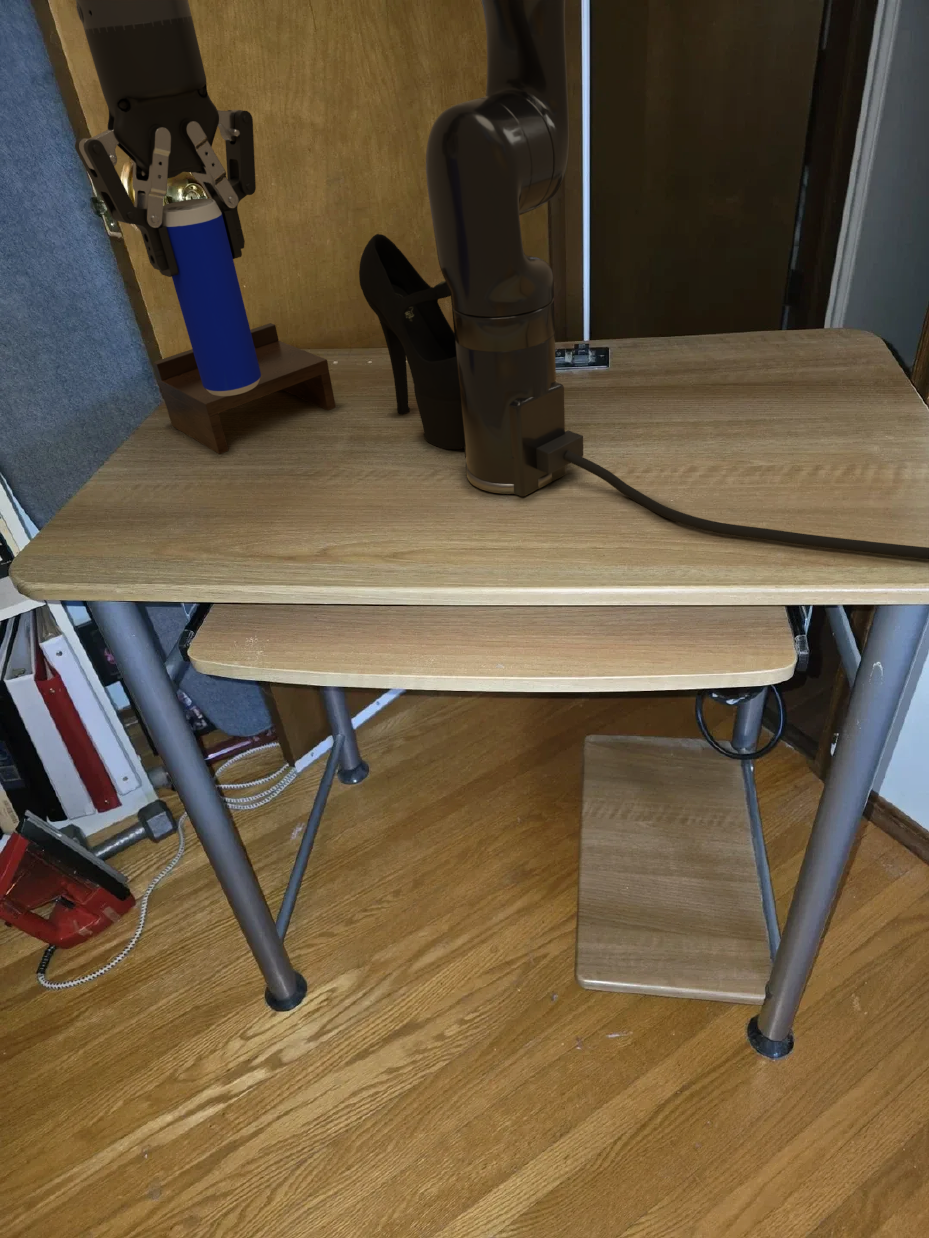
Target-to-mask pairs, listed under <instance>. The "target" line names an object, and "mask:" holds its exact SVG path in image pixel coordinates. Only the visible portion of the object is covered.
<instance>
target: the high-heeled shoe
mask: <svg viewBox="0 0 929 1238" xmlns="http://www.w3.org/2000/svg"><path fill="white" fill-rule="evenodd" d="M359 260H360V261H359V268H358V270H359V271H358V276H359V277H358V279H359V280H358V281H359V286H360V289H361V291H362V294H363V296H364V298H365V301H366V303H367V304H368V306H369V308H370V309H371V310H372V311H373V312H374V313H375V315H376V316H377V318H378V321H379V323H380V327H381V329H382V333H383V336H384V340H385V343H386V346H387V351H388V355H389V359H390V364H391V369H392V376H393V381H394V391H395V400H396V413H397V415H401V416H403V415H405V414H408V413H410V407H409V387H408V371H407V369H408V368H407V364H408V367H409V370H410V374H411V379H412V382H413V383H412V384H413V392H414V399H415V402H416V405H417V409H418V413H419V417H420V421H421V426H422V429H423V437H424V440H426V441H427V442H428V443H429V444H431V445H432V446H435V447H437V448H440V449H445V450H461V449H464V447H465V441H464V431H463V420H462V410H461V399H460V388H459V378H458V367H457V357H456V346H455V335H454V329H453V328H452V327H451V325H450V323H449V322H448V320H447V318H446V316H445V314H444V313H443V311H442V309H441V306H440V303H439V300H442V299H445V298H447V297H448V298H449V297H451V294H450V290H449V287H448V285H447V283H446V281H445V280H443V281H439V282H438V283H437V284H435V285H434V286H431V285H430V284H429V283H427V281H426V280H425V279H424V278H423V277H422V276H421V274H420V273H419V272H418V271H417V270H416V268H415V267H414V266H413V264H412V263H411V262H410V261H409V259H408V258H407V257H406V255H405V253H403V252H402V251H401V249H400V248H399V247H398V246H397V245H396V244H395V242H394V241H392V240H391V239H390V238H388V237H387V236H386V235H384V234H381V233H376V234H374V235H373V236H371V238H370V240H368V241H367V243H366V245H365V247H364V249H363V251H362V254H361V257H360V259H359Z"/></svg>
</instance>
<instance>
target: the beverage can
mask: <svg viewBox="0 0 929 1238" xmlns="http://www.w3.org/2000/svg"><path fill="white" fill-rule="evenodd" d="M161 225H162V226H166V228H167V231H168V235H169V238H170V242H171V245H172V249H173V253H174V256H175V260H176V263H177V267H178V271H179V274H178V275H175V276H172V277H171V280H172V282H173V283H172V284H173V286H174V289H175V293H176V296H177V300H178V304H179V307H180V311H181V314H182V317H183V321H184V324H185V329H186V332H187V335H188V338H189V342H190V346H191V349H193V353H194V356H195V360H196V363H197V367H198V370H199V374H200V377H201V381H202V384H203V387H204V388H205V389H206V390H207V391H208V392H210V393H211V394H213V395H216V396H232V395H237V394H241V393H244V392H247V391H249V390H251V389H253V388H254V387H256V386H257V384H258V382H259V380H260V377H261V372H260V368H259V364H258V360H257V356H256V352H255V347H254V343H253V339H252V335H251V331H250V330H251V327H250V324H249V319H248V314H247V311H246V306H245V303H244V299H243V298H244V297H243V294H242V290H241V286H240V283H239V277H238V274H237V270H236V269H237V268H236V266H235V262H234V259H233V257H232V253H231V249H230V245H229V241H228V237H227V232H226V228H225V224H224V220H223V216H222V213H221V211H220V209H219V207H218V206H217V204H216V202H215V201H214V200H213V199H210V198H206V197H205V198H202V197H201V198H191V199H183V200H179V201H175V202H170V203H167V204H163V217H162V224H161Z"/></svg>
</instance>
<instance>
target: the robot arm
mask: <svg viewBox="0 0 929 1238" xmlns="http://www.w3.org/2000/svg"><path fill="white" fill-rule="evenodd" d="M480 4H481V8H482V13H483V18H484V26H485V27H484V28H485V38H486V41H485V42H486V85H485V86H486V87H485V96H482V97H478V98H474V99H470V100H466V101H463V102H460V103H457V104H454V105H452V106H450V107H448V108H446V109H444V110H443V111H442V112H441V113H440V114H439V115H438V117H437V118H436V119H435V121H434V122H433V124H432V126H431V128H430V131H429V134H428V138H427V143H426V151H425V152H426V153H425V175H426V186H427V187H426V188H427V194H428V201H429V202H428V203H429V208H430V213H431V214H430V215H431V219H432V227H433V234H434V240H435V247H436V254H437V260H438V265H439V268H440V272H441V274H442V276H443V278H444V281H446V283H447V285H448V287H449V290H450V294H451V296H450V300H451V311H452V312H451V313H452V322H453V332H454V335H455V346H456V357H457V367H458V378H459V388H460V399H461V410H462V420H463V431H464V441H465V447H464V448H463V450H464V457H465V458H464V459H466V460H465V461H466V463H465V470H466V477H467V480H468V481H469V483H470V484H471V485H473V486H474V487H476V488H477V489H480V490H483V491H485V492H489V493H493V494H503V495H505V494H507V495H508V494H509V495H510V494H512V495H513V494H514V495H517V496H519V497H526V496H528V495H530V494H531V493H534V492H535V491H537V490H539V489H541V488H543V487H545V486H547V485H549V484H550V483H552V482H554V481H556V480H558V479H560V478H562V477H564V476H565V475H566V474H567V466H568V465H569V464H572V465H575V466H577V467H579V468H580V469H583V470H585V471H587V472H589V473H591V474H593V475H595V476H596V477H598V478H600V479H601V480H603V481H605V482H606V483H607V484H608V485H610V486H612V487H613V488H614V489H616V490H617V491H618V492H619V493H621V494H622V495H624V496H626V497H627V498H629V499H631V500H632V501H633V502H636V503H637V504H639V505H641V506H642V507H644V508H646V509H647V510H650V511H651V512H653V513H655V514H657V515H658V516H661V517H663V518H666V519H667V520H670V521H673V522H675V523H678V524H681V525H685V526H688V527H691V528H694V529H697V530H702V531H704V532H705V531H706V532H710V533H714V534H719V535H720V534H721V535H724V536H725V535H726V536H733V537H740V538H749V539H755V540H756V539H757V540H765V541H771V542H778V543H786V544H793V545H798V546H805V547H806V546H807V547H815V548H824V549H832V550H841V551H847V552H849V551H850V552H856V553H857V552H858V553H867V554H873V555H883V556H892V557H903V558H909V559H919V560H921V559H922V560H929V547H927V546H917V545H916V546H915V545H907V544H898V543H889V542H888V543H887V542H879V541H868V540H861V539H852V538H842V537H834V536H825V535H819V534H818V535H816V534H808V533H801V532H795V531H793V532H792V531H787V530H779V529H771V528H763V527H756V526H749V525H740V524H732V523H726V522H718V521H715V520H709V519H707V518H706V519H705V518H702V517H698V516H695V515H690V514H687V513H685V512H681V511H680V510H679V511H678V510H676V509H673V508H670V507H668V506H666V505H663V504H662V503H659V502H658V501H657V500H655V499H652V498H651V497H650V496H647V495H646V494H643V492H641V491H639V490H637V489H635V488H634V487H632V486H631V485H629V484H627V483H626V482H625V481H623V480H622V479H621V478H619V477H618V476H617V475H616V474H614V473H613V472H611V471H610V470H608V469H606V468H605V467H603V466H601V465H599V464H598V463H595V462H593V461H592V460H589V459H588V458H586V457H584V435H582V434H581V433H578V432H575V431H571V430H570V429H569V430H566V415H565V414H566V413H565V412H566V411H565V409H566V408H565V385H564V384H563V383H561V382H558V381H557V367H556V366H557V364H556V325H555V298H554V297H555V286H554V285H555V284H554V283H555V282H554V273H553V269H552V267H551V265H550V264H549V263H548V262H547V261H546V260H544V259H542V258H540V257H537V256H533V255H527V254H526V253H525V250H524V245H523V244H524V243H523V238H522V229H521V220H520V219H521V218H520V216H523V215H524V214H527V213H529V212H531V211H534V210H536V209H538V208H540V207H543V205H545V204H546V203H548V202H549V201H550V200H552V198H554V196H555V195H556V194H557V192H558V191H559V189H560V187H561V186H562V183H563V180H564V178H565V175H566V171H567V167H568V161H569V152H570V114H569V111H570V110H569V93H568V74H567V73H568V71H567V53H566V51H567V48H566V47H567V46H566V0H480ZM75 8H76V12H77V16H78V18H79V20H80V22H81V24H82V27H83V30H84V35H85V37H86V40H87V44H88V47H89V51H90V55H91V58H92V61H93V65H94V68H95V71H96V74H97V79H98V81H99V85H100V87H101V91H102V95H103V98H104V101H105V103H106V106H107V109H108V120H107V129H106V130H104V131H101V132H100V133H98V134H96V135H94V136H91V137H90V138H86V137H79V138H77V139H76V140H75V142H74V148H75V151H76V153H77V155H78V157H79V159H80V160H81V163H82V165H83V166H84V168H85V170H86V173H87V174H88V176H89V178H90V180H91V182H92V183H93V185H94V187H95V189H96V191H97V193H98V195H99V197H100V198H101V201H102V202H103V204H104V206H105V208H106V210H107V212H108V214H109V216H110V217H111V219H113V220H114V221H115V222H116V221H117V222H119V223H125V224H128V225H135V226H136V227H137V228H138V229H139V230H140V233H141V237H142V240H143V243H144V248H145V250H146V254H147V257H148V260H149V264H150V265H151V266H152V268H153V269H154V270H157V271H159V273H160V274H161V275H162V276H165V277H168V278H172V276H175V275H178V274H179V271H178V267H177V263H176V260H175V256H174V253H173V249H172V245H171V242H170V238H169V235H168V231H167V228H166V226H162V225H161V224H162V217H163V206H164V198H165V197H166V194H167V191H168V179H171V178H175V177H177V176H179V175H180V174H182V173H191V175H192V176H193V177H194V179H195V180H196V181H197V182H198V183H199V184H200V185H201V187H202V188H203V190H204V191H205V193H206V194H207V196H208V199H213V200H214V201H215V202H216V204H217V206H218V207H219V209H220V211H221V213H222V216H223V220H224V224H225V228H226V232H227V237H228V241H229V245H230V249H231V253H232V257H233V260H235V259H238V258H241V257H242V256H243V251H242V249H245V243H246V240H245V236H244V233H243V229H242V224H241V223H242V222H241V219H240V215H239V210H238V206H239V203H240V202H241V201H242V200H243V199H244V198H246V197H247V196H252V195H253V194H255V192H256V188H257V186H256V185H257V184H256V183H257V182H256V163H255V162H256V161H255V160H256V159H255V139H254V138H255V137H254V118H253V116H252V113H250V111H248V110H243V109H227V110H219V109H218V108H217V106H216V105H215V104H214V103H213V101H212V99H211V97H210V95H209V92H208V87H207V86H208V84H207V83H208V82H207V75H206V72H205V67H204V63H203V57H202V54H201V50H200V46H199V42H198V37H197V33H196V29H195V25H194V20H193V16H192V12H191V8H190V3H189V0H75ZM218 129H219V133H220V136H221V137H222V139H223V140H224V142H225V143H224V144H225V159H226V170H225V168H224V166H223V164H222V163H221V161H220V159H219V158H218V156H217V154H216V153H215V150H214V149H213V148H212V147H213V143H214V140H215V137H216V133H217V130H218ZM117 147H118V148H119V149H120V150H121V151H122V152H123V153H124V154H126V156H127V157H128V158H129V159H130V160H131V161H133V162H132V163H133V164H132V189H133V191H134V203H133V201H132V200H131V197H130V195H129V194H128V191H127V189H126V187H125V185H124V183H123V182H122V179H121V177H120V175H119V174H118V171H117V169H116V168H115V166H116V165H117V163H118V156H117V154H116V148H117Z"/></svg>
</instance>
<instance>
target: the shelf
mask: <svg viewBox="0 0 929 1238" xmlns="http://www.w3.org/2000/svg"><path fill="white" fill-rule="evenodd" d="M250 331H251V335H252V339H253V343H254V347H255V352H256V356H257V360H258V364H259V368H260V372H261V377H260V380H259V382H258V384H257V386H256V387H254V388H253V389H251V390H249V391H247V392H244V393H241V394H237V395H232V396H216V395H213V394H211V393H210V392H208V391H207V390H206V389H205V388H204V387H203V384H202V381H201V377H200V374H199V370H198V367H197V363H196V360H195V356H194V353H193V349H192V348H191V349H187V350H184V351H182V352H179V353H176V354H172V355H169V356H167V357H164V358H162V359H157V360H155V361H153V362H152V365H153V368H154V371H155V374H156V377H157V381H158V384H159V388H160V390H161V394H162V397H163V401H164V403H165V407H166V410H167V414H168V418H169V419H170V423H171V426H172V427H174V428H175V429H177V430H179V432H181V433H183V434H185V435H186V436H188V437H190V438H191V439H194V440H195V441H197V442H199V443H200V444H202V445H203V446H205V447H207V448H208V449H210V450H212V451H214V452H215V453H217V454H219V455H221V454H223V453H226V452H228V451H229V447H228V443H227V439H226V435H225V433H224V429H223V424H222V421H221V418H220V417H221V416H220V414H221V413H223V412H226V411H228V410H231V409H234V408H237V407H239V406H242V405H245V404H247V403H250V402H252V401H253V402H254V401H256V400H257V399H261V398H263V397H266V396H268V395H271V394H274V393H277V392H279V391H284V392H286V393H289V394H291V395H293V396H295V397H297V398H299V399H302V400H304V401H306V402H309V403H311V404H312V405H315V406H317V407H319V408H322V409H324V410H326V411H331V410H333V409H335V408H337V406H336V401H335V395H334V390H333V385H332V379H331V373H330V369H329V363H328V359H327V358H324V357H321V356H319V355H316V354H314V353H312V352H310V351H307V350H304V349H301V348H299V347H296V346H293V345H291V344H289V343H285V342H283V341H281V340H279V335H278V332H277V326H276V324H274V323H272V322H269V323H267V324H263V325H259V326H257V327H254V328H250Z"/></svg>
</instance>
